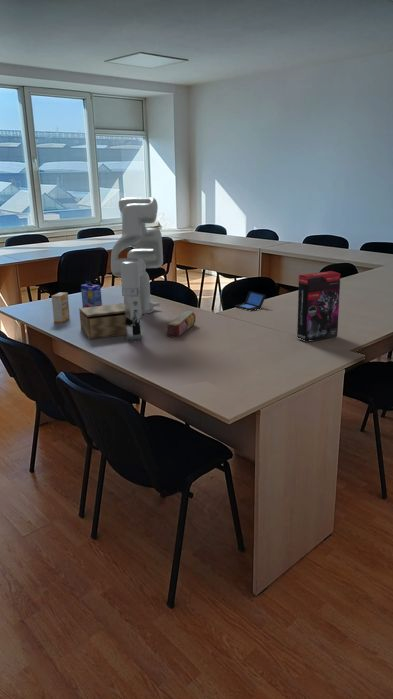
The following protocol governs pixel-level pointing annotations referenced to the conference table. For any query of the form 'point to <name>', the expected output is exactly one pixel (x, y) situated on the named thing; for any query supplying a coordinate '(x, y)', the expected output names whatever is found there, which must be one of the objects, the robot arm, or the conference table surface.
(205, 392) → the conference table surface
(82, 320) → the tan wicker box
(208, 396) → the conference table surface
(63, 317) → the supplement box
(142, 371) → the conference table surface
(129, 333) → the steel weight
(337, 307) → the graphics card box
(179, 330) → the snack package
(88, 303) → the ink cartridge box
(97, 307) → the lid
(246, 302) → the handheld game console
